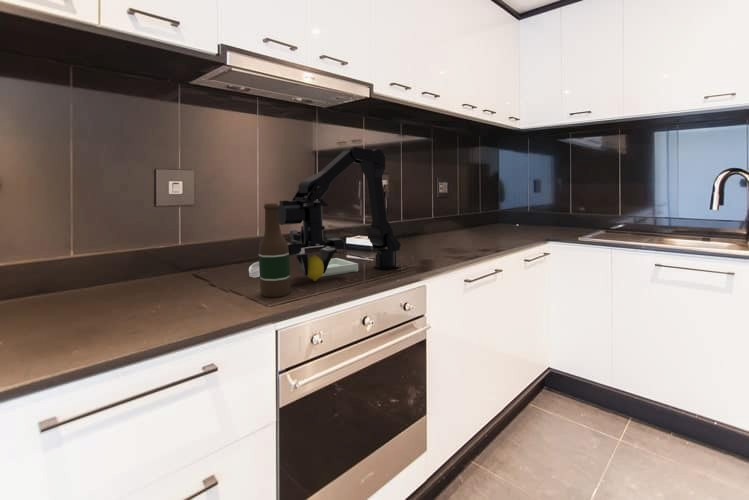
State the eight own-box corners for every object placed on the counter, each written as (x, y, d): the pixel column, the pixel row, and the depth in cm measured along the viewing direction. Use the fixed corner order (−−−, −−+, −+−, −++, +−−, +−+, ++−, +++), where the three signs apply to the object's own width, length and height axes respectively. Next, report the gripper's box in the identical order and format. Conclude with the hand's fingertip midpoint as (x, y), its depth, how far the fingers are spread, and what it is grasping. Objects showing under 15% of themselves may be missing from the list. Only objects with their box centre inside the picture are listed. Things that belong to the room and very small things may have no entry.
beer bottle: (276, 299, 103) (270, 204, 99) (254, 295, 107) (248, 204, 104) (297, 292, 110) (292, 202, 106) (276, 288, 114) (271, 202, 110)
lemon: (326, 279, 125) (325, 253, 124) (321, 283, 120) (320, 256, 118) (308, 278, 126) (307, 253, 124) (303, 283, 120) (302, 256, 119)
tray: (337, 264, 147) (337, 258, 147) (358, 271, 136) (358, 263, 136) (301, 269, 139) (301, 262, 139) (320, 276, 128) (320, 269, 128)
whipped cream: (275, 278, 131) (276, 264, 131) (256, 280, 127) (257, 265, 126) (262, 273, 137) (263, 259, 136) (243, 275, 132) (244, 260, 131)
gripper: (327, 219, 132) (329, 266, 134) (272, 222, 121) (275, 274, 124) (345, 221, 123) (346, 272, 125) (287, 225, 112) (289, 280, 115)
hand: (314, 274), depth 122 cm, fingers closed on lemon, 5 cm apart
